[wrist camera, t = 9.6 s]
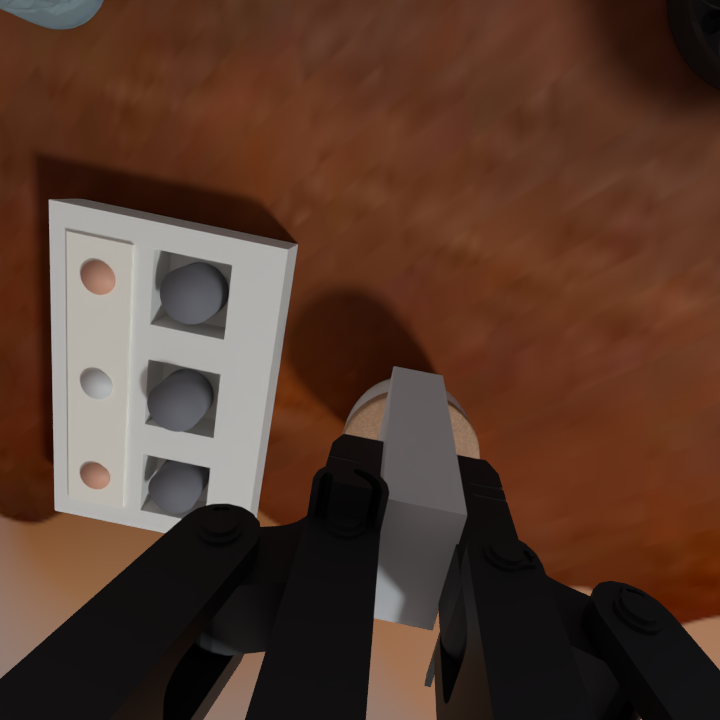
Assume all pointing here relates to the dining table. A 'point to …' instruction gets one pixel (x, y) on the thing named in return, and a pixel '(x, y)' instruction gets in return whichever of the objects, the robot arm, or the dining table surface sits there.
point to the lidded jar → (371, 410)
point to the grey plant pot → (53, 11)
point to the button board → (158, 358)
